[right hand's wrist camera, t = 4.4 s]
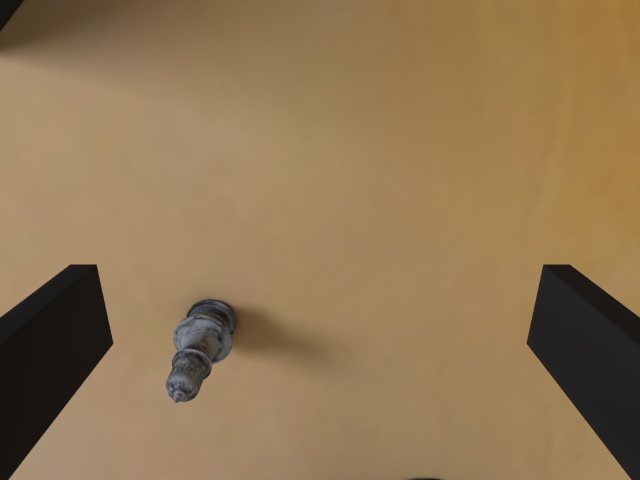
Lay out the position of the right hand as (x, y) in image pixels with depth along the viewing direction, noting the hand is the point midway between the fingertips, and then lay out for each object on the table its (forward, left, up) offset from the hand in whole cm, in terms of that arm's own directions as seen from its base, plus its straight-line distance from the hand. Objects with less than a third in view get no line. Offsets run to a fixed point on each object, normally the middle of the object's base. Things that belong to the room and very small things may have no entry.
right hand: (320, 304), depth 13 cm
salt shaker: (-18, +12, -28) cm, 35 cm away
